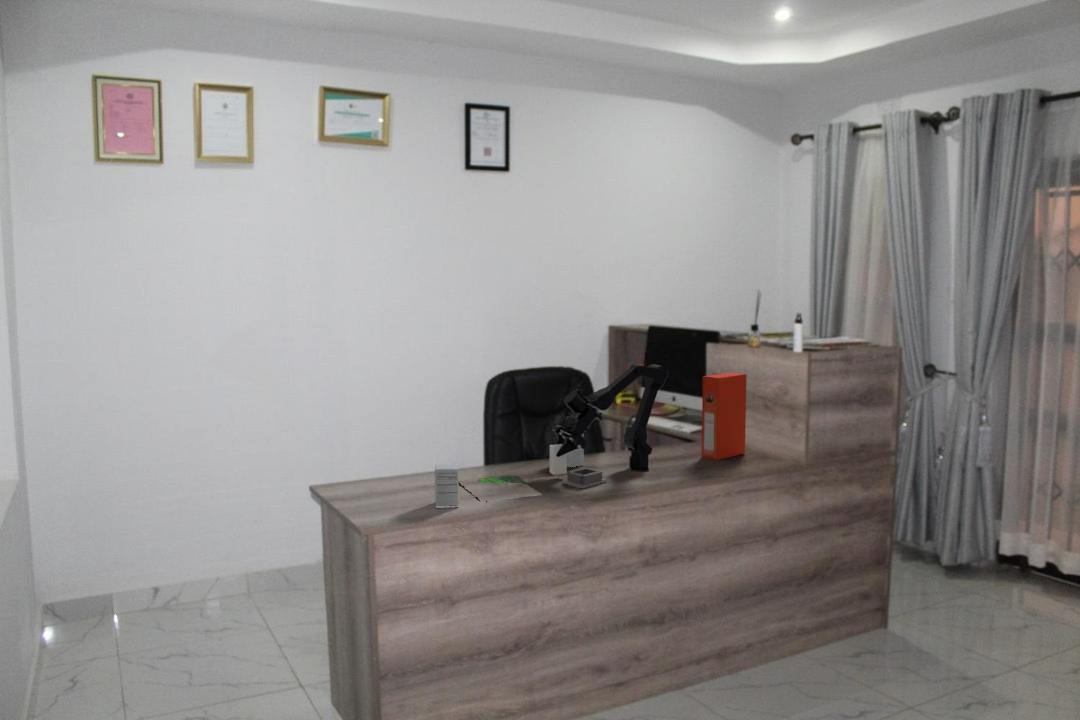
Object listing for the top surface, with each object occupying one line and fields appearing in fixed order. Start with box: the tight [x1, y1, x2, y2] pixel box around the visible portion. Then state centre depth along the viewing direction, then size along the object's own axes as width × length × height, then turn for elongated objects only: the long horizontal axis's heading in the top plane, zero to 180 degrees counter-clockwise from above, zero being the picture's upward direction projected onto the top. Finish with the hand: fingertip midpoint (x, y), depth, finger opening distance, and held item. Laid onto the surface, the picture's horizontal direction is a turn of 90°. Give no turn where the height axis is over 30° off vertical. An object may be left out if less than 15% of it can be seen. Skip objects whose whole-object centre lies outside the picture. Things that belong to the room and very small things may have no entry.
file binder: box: [701, 372, 747, 461], centre depth 338 cm, size 8×17×32 cm, turn 130°
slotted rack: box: [562, 467, 607, 489], centre depth 298 cm, size 12×9×4 cm
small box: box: [567, 432, 585, 469], centre depth 324 cm, size 8×6×13 cm
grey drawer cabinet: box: [434, 463, 460, 507], centre depth 271 cm, size 7×7×13 cm
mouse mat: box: [478, 475, 531, 486], centre depth 291 cm, size 27×22×1 cm
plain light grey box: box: [549, 443, 568, 476], centre depth 304 cm, size 5×4×10 cm
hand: (554, 455), depth 303 cm, fingers closed on plain light grey box, 3 cm apart
